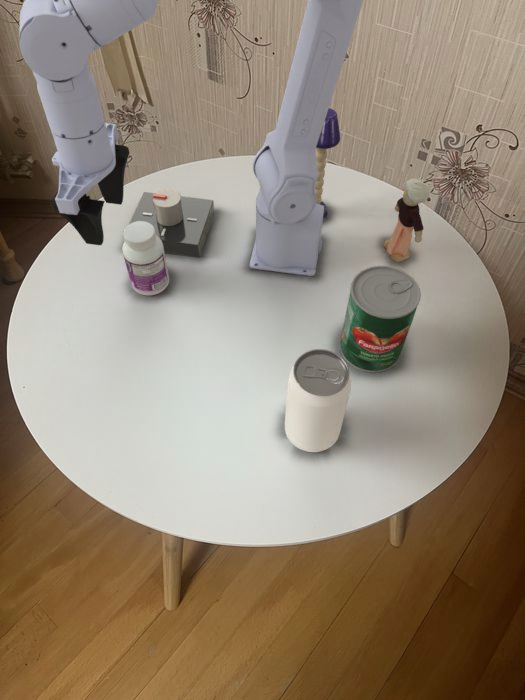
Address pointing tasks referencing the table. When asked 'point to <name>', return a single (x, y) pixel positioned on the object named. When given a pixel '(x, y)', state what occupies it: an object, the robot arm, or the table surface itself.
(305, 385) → the can
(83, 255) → the table surface
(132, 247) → the pill bottle
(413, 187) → the grandmother figurine
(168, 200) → the hob knob
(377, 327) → the canned tomato
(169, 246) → the knob base
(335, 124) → the toy lamp
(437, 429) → the table surface
